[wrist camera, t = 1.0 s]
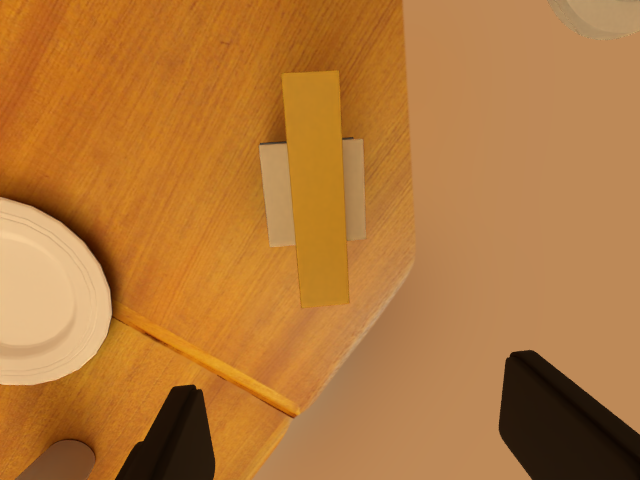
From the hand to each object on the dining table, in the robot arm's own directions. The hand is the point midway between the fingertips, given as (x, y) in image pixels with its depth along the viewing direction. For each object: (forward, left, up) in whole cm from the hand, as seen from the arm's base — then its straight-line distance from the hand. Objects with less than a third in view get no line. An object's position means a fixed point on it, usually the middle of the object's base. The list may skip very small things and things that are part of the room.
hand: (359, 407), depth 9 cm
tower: (-4, -4, -26) cm, 26 cm away
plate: (+25, -20, -26) cm, 41 cm away
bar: (-4, -4, -14) cm, 15 cm away
